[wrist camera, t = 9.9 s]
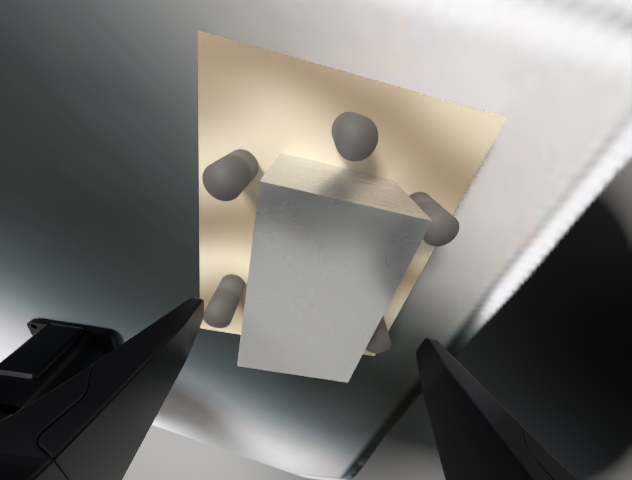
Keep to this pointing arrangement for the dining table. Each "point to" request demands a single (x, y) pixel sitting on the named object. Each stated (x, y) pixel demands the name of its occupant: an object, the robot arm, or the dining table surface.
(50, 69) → the dining table surface
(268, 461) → the dining table surface
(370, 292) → the block
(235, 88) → the pin tray
